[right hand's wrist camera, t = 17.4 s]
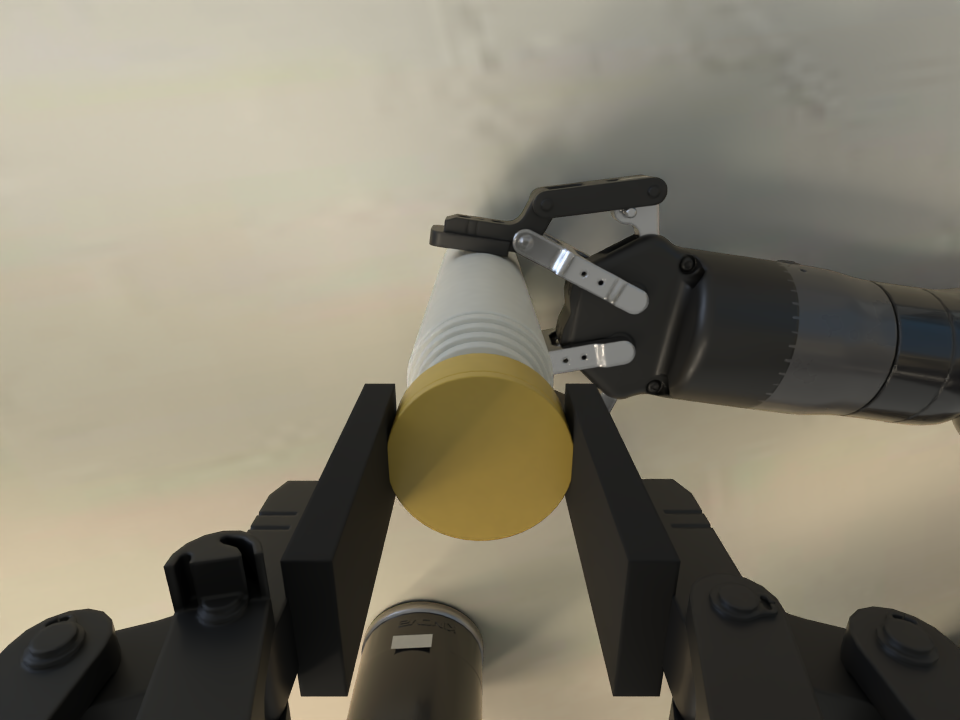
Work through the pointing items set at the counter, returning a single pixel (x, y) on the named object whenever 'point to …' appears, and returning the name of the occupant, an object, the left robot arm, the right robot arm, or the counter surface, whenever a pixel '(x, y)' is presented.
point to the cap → (480, 448)
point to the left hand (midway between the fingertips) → (426, 288)
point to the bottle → (479, 315)
